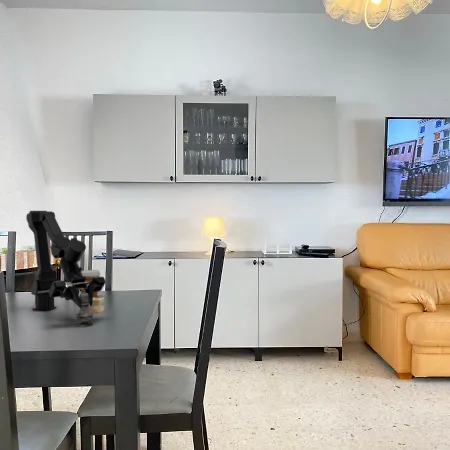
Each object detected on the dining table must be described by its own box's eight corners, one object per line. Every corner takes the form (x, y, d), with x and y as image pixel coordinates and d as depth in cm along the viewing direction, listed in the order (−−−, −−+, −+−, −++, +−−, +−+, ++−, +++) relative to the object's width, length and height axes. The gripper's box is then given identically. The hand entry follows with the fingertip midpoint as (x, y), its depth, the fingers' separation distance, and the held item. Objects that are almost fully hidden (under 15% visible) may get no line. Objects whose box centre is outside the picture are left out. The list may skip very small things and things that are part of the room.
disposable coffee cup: (97, 300, 201) (96, 272, 200) (75, 300, 201) (75, 272, 200) (103, 296, 210) (102, 269, 210) (82, 296, 210) (82, 269, 210)
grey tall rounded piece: (88, 327, 154) (87, 291, 154) (72, 326, 155) (71, 291, 155) (96, 323, 160) (96, 288, 160) (81, 322, 161) (80, 288, 161)
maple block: (87, 313, 176) (86, 300, 176) (91, 310, 181) (91, 297, 181) (100, 313, 176) (99, 300, 175) (104, 310, 181) (103, 297, 180)
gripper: (88, 282, 175) (103, 315, 167) (39, 287, 162) (52, 324, 154) (98, 263, 169) (114, 297, 161) (48, 267, 156) (62, 304, 148)
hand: (86, 306), depth 156 cm, fingers closed on grey tall rounded piece, 4 cm apart
